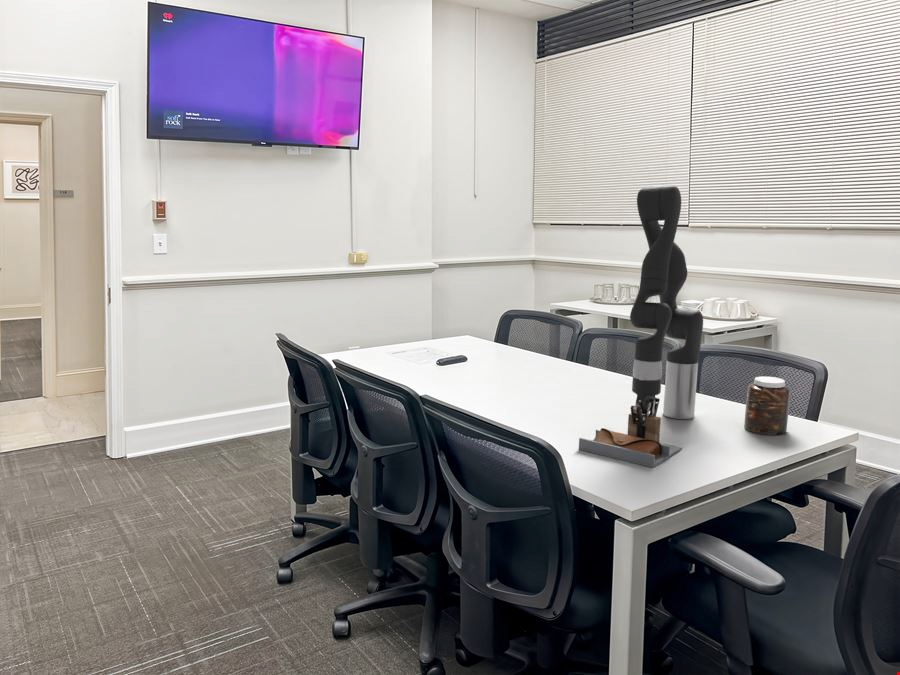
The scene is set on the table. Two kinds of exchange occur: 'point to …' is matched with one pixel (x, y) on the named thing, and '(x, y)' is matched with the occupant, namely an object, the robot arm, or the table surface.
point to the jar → (767, 406)
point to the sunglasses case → (629, 442)
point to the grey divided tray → (631, 455)
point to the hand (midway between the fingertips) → (643, 436)
